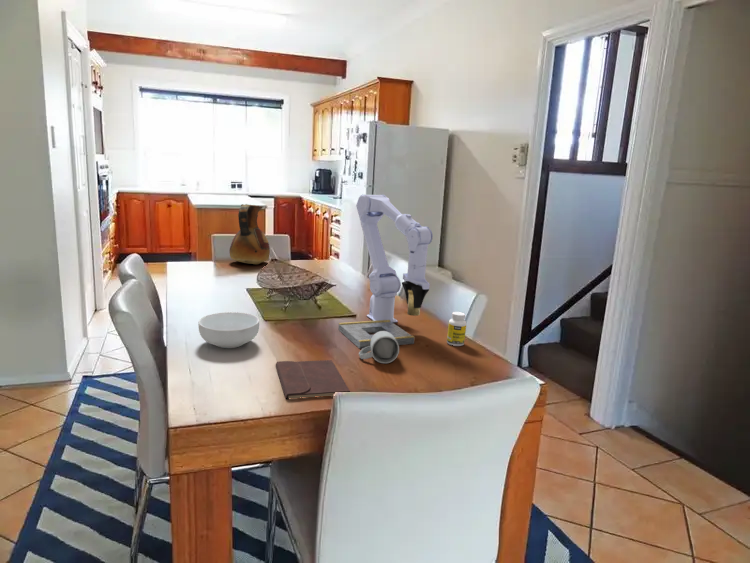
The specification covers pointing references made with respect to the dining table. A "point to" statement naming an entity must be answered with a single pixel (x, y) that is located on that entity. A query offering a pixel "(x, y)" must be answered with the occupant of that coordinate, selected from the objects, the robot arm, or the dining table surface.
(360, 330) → the jig
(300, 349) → the dining table surface
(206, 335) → the cereal bowl
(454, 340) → the supplement bottle
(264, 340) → the dining table surface
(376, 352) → the ceramic mug
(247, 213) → the ceramic pitcher
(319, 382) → the notebook
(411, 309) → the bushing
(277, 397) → the dining table surface
